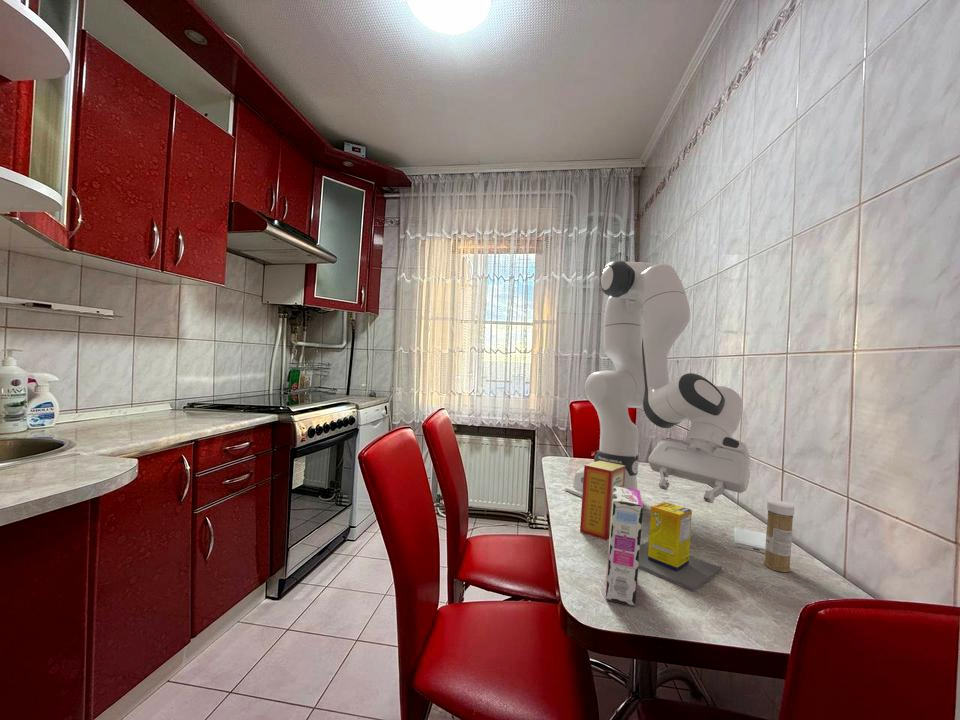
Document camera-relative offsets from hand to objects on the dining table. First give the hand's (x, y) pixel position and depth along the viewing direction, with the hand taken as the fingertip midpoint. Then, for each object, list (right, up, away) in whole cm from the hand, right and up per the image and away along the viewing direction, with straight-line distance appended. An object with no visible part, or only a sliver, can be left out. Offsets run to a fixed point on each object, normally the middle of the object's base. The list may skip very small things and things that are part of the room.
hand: (684, 494), depth 90 cm
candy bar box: (-19, -12, -16) cm, 28 cm away
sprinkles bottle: (+18, -15, -3) cm, 23 cm away
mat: (-6, -13, -5) cm, 15 cm away
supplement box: (-6, -12, -6) cm, 15 cm away
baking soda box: (-15, -13, +11) cm, 22 cm away
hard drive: (+22, -16, +11) cm, 29 cm away
